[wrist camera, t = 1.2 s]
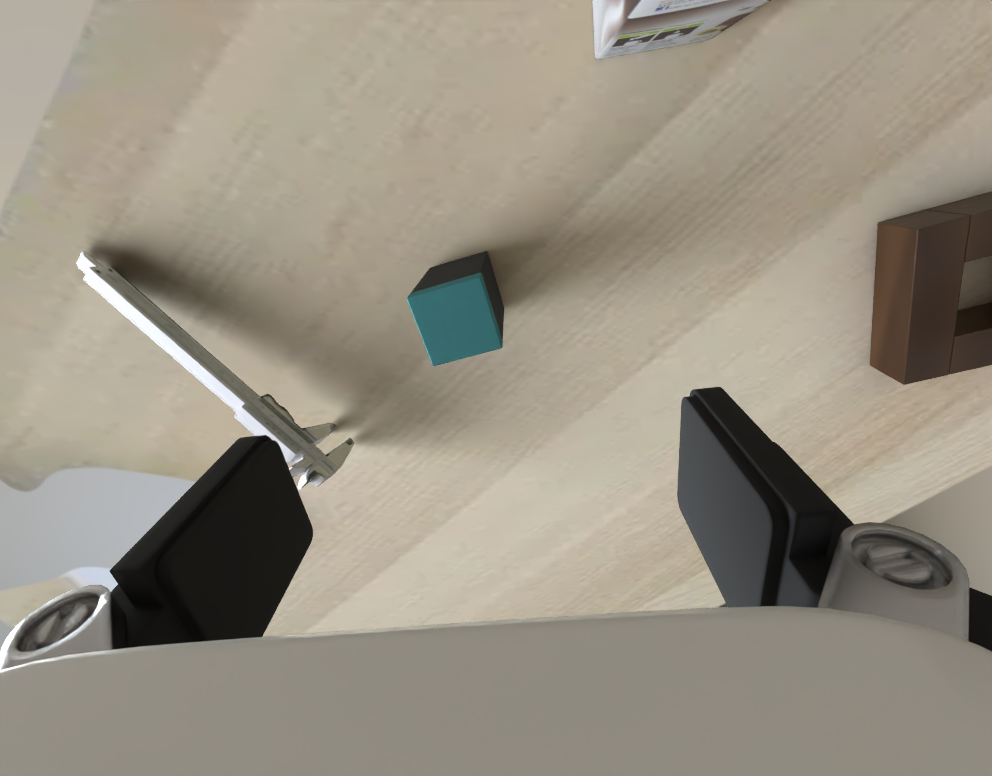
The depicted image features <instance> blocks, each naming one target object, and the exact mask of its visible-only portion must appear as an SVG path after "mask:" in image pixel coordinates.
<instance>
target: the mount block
mask: <svg viewBox="0 0 992 776" xmlns="http://www.w3.org/2000/svg"><path fill="white" fill-rule="evenodd" d="M990 255H992V192H988V193H985V194H981V195H977V196H974V197H970V198H966V199H963V200H959V201H955V202H952V203H948V204H944V205H941V206H937V207H934V208H930V209H926V210H923V211H919V212H915V213H912V214H908V215H905V216H901V217H897V218H894V219H890V220H886V221H883V222H879V223H878V233H877V250H876V268H875V285H874V303H873V320H872V338H871V355H870V366H872V367H874V368H875V369H877V370H879V371H881V372H882V373H884V374H886V375H888V376H889V377H891V378H893V379H895V380H896V381H898V382H900V383H902V384H909V383H914V382H918V381H923V380H927V379H932V378H936V377H940V376H945V375H948V374H953V373H958V372H962V371H967V370H971V369H975V368H980V367H984V366H989V365H992V303H988V304H984V305H980V306H976V307H972V308H968V309H964V310H960V311H957V310H958V303H959V295H960V288H961V281H962V274H963V267H964V262H967V261H971V260H975V259H979V258H983V257H986V256H990Z"/></svg>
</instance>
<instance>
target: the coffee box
mask: <svg viewBox="0 0 992 776" xmlns="http://www.w3.org/2000/svg"><path fill="white" fill-rule="evenodd" d="M769 1H771V0H593V19H594V42H595V56H596V58H597V59H602V58H608V57H614V56H620V55H626V54H632V53H638V52H644V51H650V50H655V49H661V48H667V47H673V46H679V45H684V44H689V43H694V42H699V41H704V40H708V39H711V38H713V37H715V36H716V35H718V34H719V33H721V32H722V31H724V30H725V29H727V28H728V27H730V26H731V25H733V24H734V23H736V22H738V21H739V20H741V19H742V18H744V17H745V16H747V15H749V14H750V13H752V12H753V11H755V10H757V9H758V8H760V7H761V6H763V5H765V4H766V3H768V2H769Z"/></svg>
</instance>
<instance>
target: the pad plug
mask: <svg viewBox="0 0 992 776" xmlns="http://www.w3.org/2000/svg"><path fill="white" fill-rule="evenodd" d="M407 301H408V303H409V306H410V309H411V311H412V314H413V316H414V319H415V321H416V324H417V327H418V329H419V332H420V334H421V337H422V340H423V342H424V345H425V347H426V350H427V353H428V355H429V358H430V360H431V363H432V365H433V366H436V365H440V364H444V363H448V362H451V361H455V360H459V359H463V358H466V357H470V356H474V355H478V354H481V353H485V352H489V351H493V350H496V349H500V348H502V343H503V321H504V306H503V302H502V299H501V296H500V292H499V289H498V286H497V282H496V279H495V275H494V272H493V269H492V265H491V262H490V259H489V255H488V252H487V251H485V252H482V253H478V254H475V255H472V256H468V257H465V258H462V259H458V260H455V261H452V262H449V263H445V264H442V265H439V266H435V267H432V268H430V269H429V270H428V271H427V272H426V274H425V275H424V276H423V278H422V279H421V280H420V282H419V283H418V284H417V286H416V287H415V288H414V290H413V291H412V292H411V293H410V295H409V296H408V297H407Z"/></svg>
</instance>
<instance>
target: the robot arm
mask: <svg viewBox="0 0 992 776" xmlns="http://www.w3.org/2000/svg"><path fill="white" fill-rule="evenodd" d="M677 495H678V503H679V507H680V510H681V512H682V514H683V516H684V518H685V520H686V522H687V524H688V527H689V529H690V531H691V533H692V535H693V537H694V539H695V541H696V543H697V545H698V547H699V549H700V551H701V553H702V555H703V557H704V559H705V561H706V563H707V565H708V567H709V569H710V571H711V573H712V575H713V577H714V579H715V581H716V583H717V585H718V588H719V590H720V592H721V594H722V596H723V598H724V600H725V602H726V604H727V606H728V607H723V608H695V609H679V610H661V611H640V612H623V613H607V614H591V615H575V616H559V617H543V618H527V619H512V620H496V621H481V622H466V623H451V624H437V625H422V626H407V627H393V628H378V629H364V630H350V631H335V632H322V633H308V634H295V635H282V636H268V637H262V636H263V634H264V632H265V630H266V628H267V626H268V624H269V622H270V621H271V619H272V617H273V615H274V613H275V611H276V609H277V607H278V605H279V603H280V601H281V599H282V597H283V596H284V594H285V592H286V590H287V588H288V586H289V584H290V582H291V580H292V578H293V576H294V574H295V572H296V571H297V569H298V567H299V565H300V563H301V561H302V559H303V557H304V555H305V553H306V551H307V549H308V547H309V546H310V544H311V541H312V537H313V529H312V525H311V523H310V520H309V518H308V515H307V513H306V510H305V508H304V505H303V503H302V500H301V498H300V495H299V493H298V490H297V488H296V485H295V483H294V480H293V478H292V475H291V473H290V470H289V468H288V465H287V463H286V460H285V458H284V455H283V453H282V450H281V448H280V446H279V444H278V442H277V441H275V440H272V439H271V438H270V437H269V436H267V435H261V436H251V437H242V438H239V439H238V440H237V441H236V442H235V443H234V444H233V445H232V446H231V447H230V448H229V449H228V450H227V451H226V452H225V453H224V454H223V455H222V456H221V457H220V458H219V459H218V460H217V461H216V462H215V463H214V464H213V465H212V466H211V467H210V468H209V469H208V470H207V472H206V473H205V474H204V475H203V476H202V477H201V478H200V479H199V480H198V481H197V482H196V483H195V484H194V485H193V486H192V487H191V488H190V489H189V490H188V491H187V492H186V493H185V494H184V495H183V496H182V497H181V498H180V500H178V501H177V502H176V503H175V504H174V505H173V506H172V507H171V509H170V510H169V511H168V512H166V514H165V515H164V516H163V517H162V518H161V519H160V520H159V521H158V522H157V523H156V524H155V525H154V526H153V527H152V528H151V529H150V530H149V531H148V532H147V533H146V534H145V535H144V536H143V537H142V538H141V539H140V540H139V541H138V542H137V543H136V544H135V545H134V546H133V547H132V548H131V549H130V551H128V552H127V553H126V554H125V555H124V557H123V558H122V559H121V560H120V561H119V562H118V563H117V564H116V565H115V566H114V567H113V568H112V569H111V570H110V573H111V574H112V575H113V577H114V578H115V580H116V581H117V583H118V585H117V586H116V587H115V588H114V589H113V590H112V592H110V591H109V589H108V588H106V587H104V586H102V585H89V586H85V587H81V588H77V589H74V590H72V591H69V592H67V593H64V594H62V595H60V596H58V597H56V598H54V599H53V600H51V601H49V602H47V603H45V604H44V605H42V606H41V607H40V608H38V609H37V610H35V611H34V612H32V613H31V614H30V615H28V616H27V617H26V618H25V619H24V620H23V621H22V622H21V623H19V624H18V625H17V626H16V627H15V629H14V630H13V631H12V632H11V633H10V634H9V636H8V637H7V638H6V641H5V643H4V645H3V647H2V649H1V653H0V776H992V596H990V595H988V594H985V593H983V592H980V591H977V590H975V589H972V588H969V578H968V574H967V571H966V568H965V567H964V566H963V564H962V563H961V562H960V560H959V559H958V558H957V557H956V556H955V555H954V554H952V553H951V552H950V551H949V550H948V549H946V548H945V547H944V546H942V545H941V544H940V543H938V542H936V541H934V540H932V539H930V538H929V537H927V536H925V535H923V534H920V533H918V532H915V531H912V530H910V529H907V528H904V527H900V526H895V525H891V524H885V523H872V522H868V523H861V524H853V523H852V522H851V520H850V519H849V518H848V517H847V516H846V515H845V514H844V513H843V512H842V511H841V510H840V509H839V508H838V507H837V506H836V505H835V504H834V503H833V502H832V501H831V499H830V498H829V497H828V496H827V495H826V494H825V493H824V492H823V491H822V490H821V489H820V488H819V487H818V486H817V485H816V484H815V483H814V482H813V481H812V479H811V478H810V477H809V476H808V475H807V474H806V473H805V472H804V471H803V470H802V469H801V468H800V467H799V466H798V465H797V464H796V463H795V462H794V461H793V460H792V458H791V457H790V456H789V455H788V454H787V453H786V452H785V451H784V450H783V449H782V448H781V447H780V446H779V445H778V444H776V443H775V442H772V441H771V440H770V439H769V438H768V437H767V435H766V434H765V433H764V432H763V431H762V430H761V429H760V428H759V427H758V426H757V425H756V424H755V423H754V422H753V421H752V419H751V418H750V417H749V416H748V415H747V414H746V413H745V412H744V411H743V410H742V409H741V408H740V407H739V406H738V405H737V404H736V402H735V401H734V400H733V399H732V398H731V397H730V396H729V395H728V394H727V393H726V392H725V391H724V390H723V389H722V388H721V387H714V388H705V389H695V390H692V391H691V393H690V397H684V398H683V399H682V405H681V426H680V448H679V470H678V492H677Z"/></svg>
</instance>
